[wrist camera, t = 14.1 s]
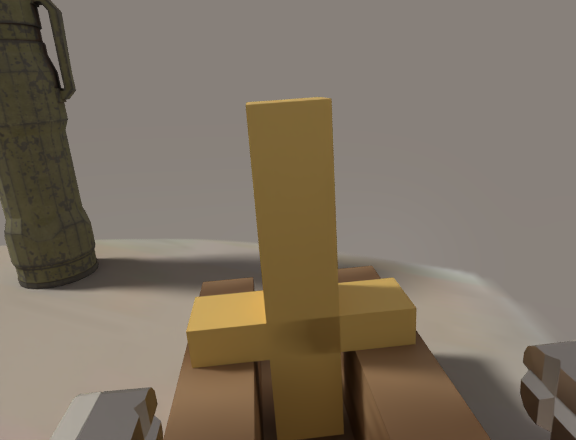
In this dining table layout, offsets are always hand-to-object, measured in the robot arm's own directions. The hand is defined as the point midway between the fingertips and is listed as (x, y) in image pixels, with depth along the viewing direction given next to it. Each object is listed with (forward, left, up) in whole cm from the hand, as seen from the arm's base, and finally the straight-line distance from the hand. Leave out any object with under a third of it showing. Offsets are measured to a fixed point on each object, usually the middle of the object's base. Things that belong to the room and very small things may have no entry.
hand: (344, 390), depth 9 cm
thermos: (+23, +44, -13) cm, 52 cm away
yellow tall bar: (+10, +6, -11) cm, 16 cm away
